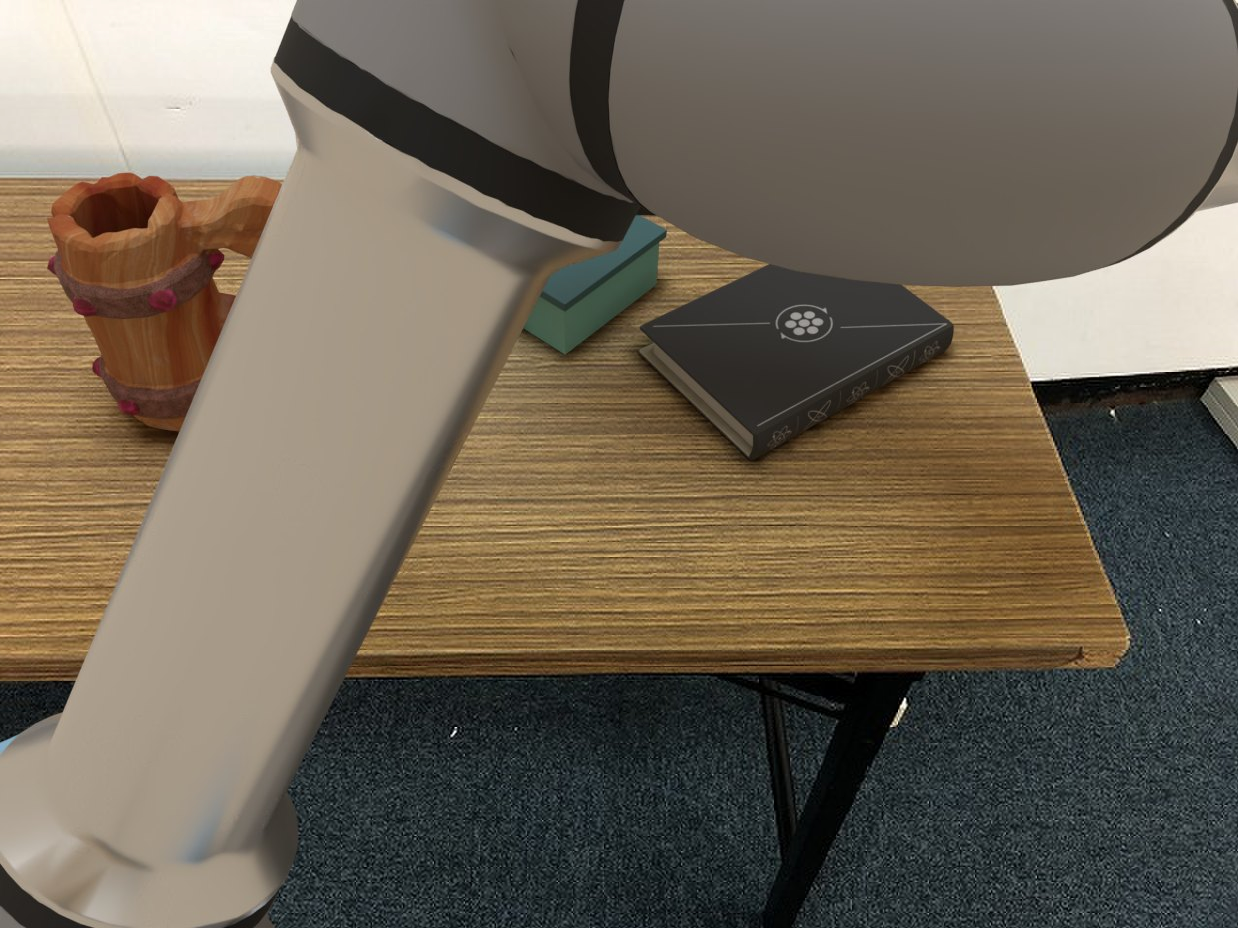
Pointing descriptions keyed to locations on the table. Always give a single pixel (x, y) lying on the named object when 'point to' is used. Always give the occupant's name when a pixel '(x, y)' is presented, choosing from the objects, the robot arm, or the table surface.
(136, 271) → the mug
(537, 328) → the container
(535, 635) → the table surface
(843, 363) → the book
